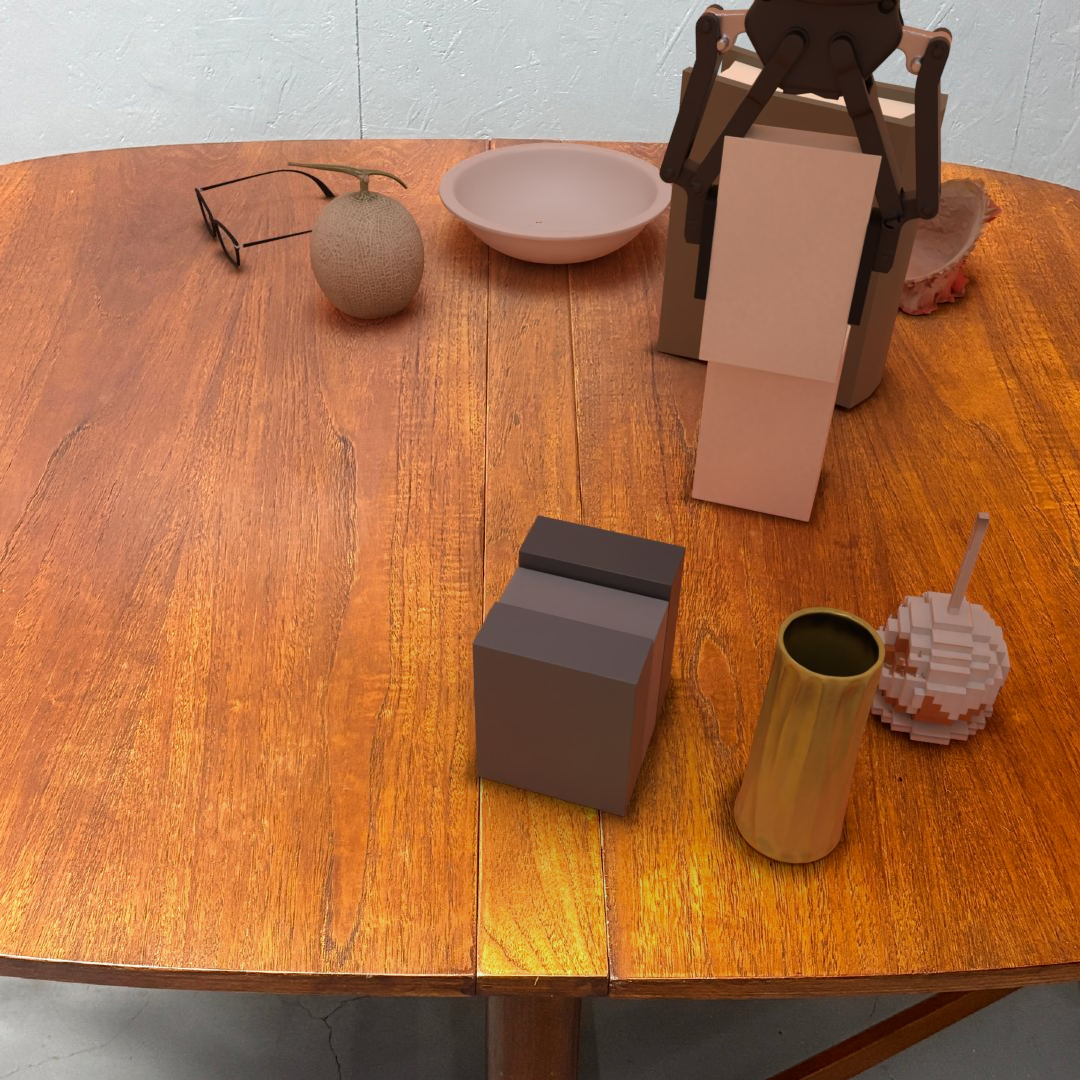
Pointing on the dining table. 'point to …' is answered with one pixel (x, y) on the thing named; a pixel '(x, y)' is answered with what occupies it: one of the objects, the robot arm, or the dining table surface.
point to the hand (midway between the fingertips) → (778, 301)
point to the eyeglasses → (216, 225)
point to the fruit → (366, 249)
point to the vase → (809, 734)
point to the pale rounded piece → (942, 660)
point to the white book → (786, 250)
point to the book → (884, 289)
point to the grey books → (576, 663)
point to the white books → (763, 439)
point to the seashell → (946, 245)
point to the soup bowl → (555, 199)
